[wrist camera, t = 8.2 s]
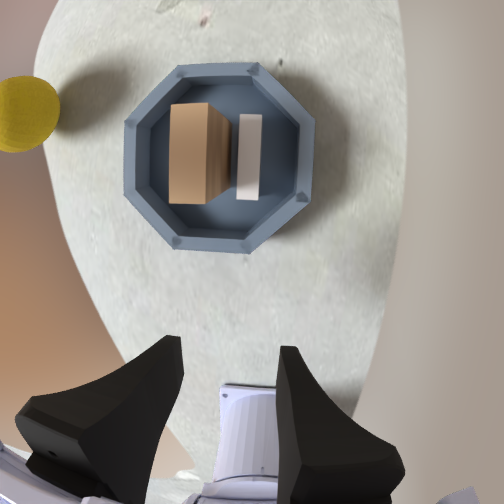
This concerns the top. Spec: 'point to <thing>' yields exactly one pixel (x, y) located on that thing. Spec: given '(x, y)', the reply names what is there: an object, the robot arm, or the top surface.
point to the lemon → (26, 113)
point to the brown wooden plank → (198, 153)
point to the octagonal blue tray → (242, 158)
